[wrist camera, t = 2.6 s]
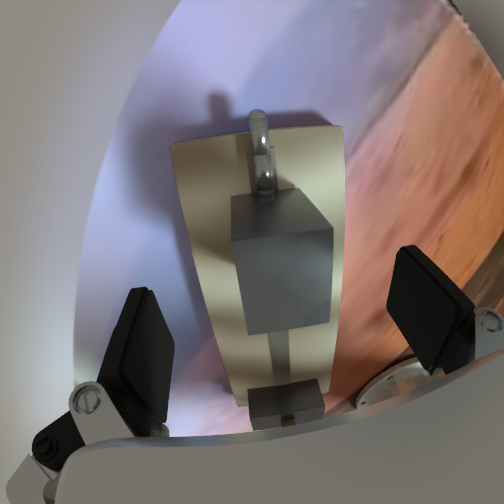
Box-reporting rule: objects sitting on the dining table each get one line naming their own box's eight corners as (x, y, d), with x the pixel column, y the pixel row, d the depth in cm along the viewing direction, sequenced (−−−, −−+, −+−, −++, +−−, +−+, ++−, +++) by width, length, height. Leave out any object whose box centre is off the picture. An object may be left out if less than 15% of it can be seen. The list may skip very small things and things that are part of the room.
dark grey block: (218, 114, 13) (210, 112, 8) (291, 106, 13) (328, 102, 8) (242, 270, 18) (248, 335, 13) (302, 261, 18) (329, 322, 13)
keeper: (247, 389, 25) (251, 437, 20) (317, 377, 25) (330, 424, 20) (252, 407, 27) (256, 451, 22) (314, 397, 27) (325, 439, 22)
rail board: (174, 143, 16) (168, 146, 14) (333, 124, 16) (343, 126, 14) (237, 395, 28) (237, 407, 26) (325, 381, 28) (328, 392, 27)
